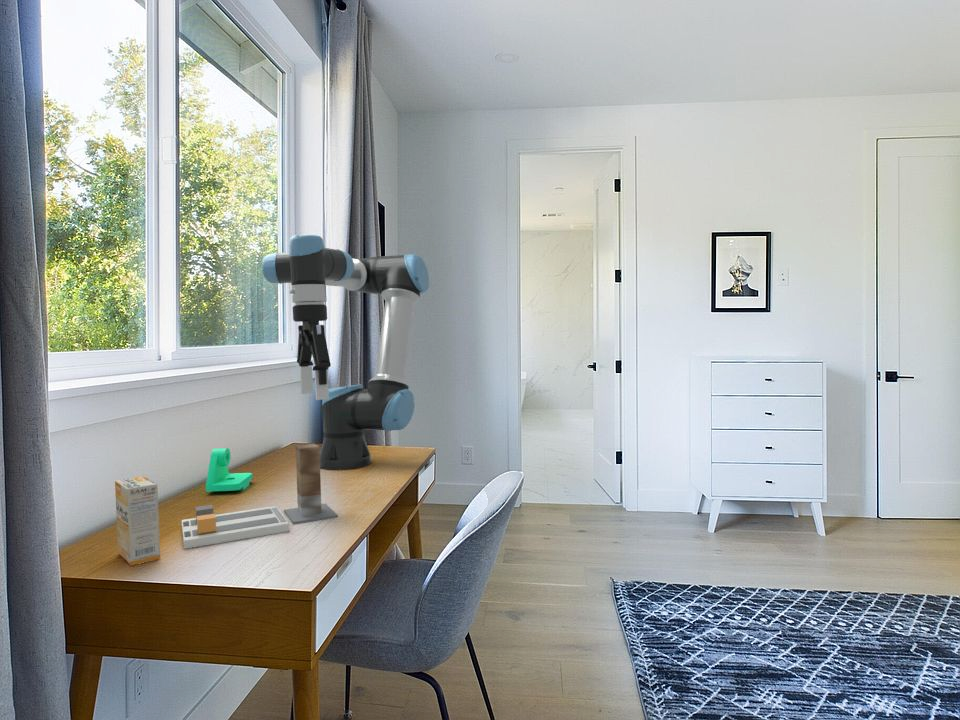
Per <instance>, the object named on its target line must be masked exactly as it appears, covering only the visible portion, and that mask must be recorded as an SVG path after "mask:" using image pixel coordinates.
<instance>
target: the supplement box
mask: <svg viewBox="0 0 960 720" xmlns="http://www.w3.org/2000/svg"><path fill="white" fill-rule="evenodd" d="M114 490H115V491H114V492H115V512H116V513H115V514H116V536H117V537H116V538H117V554H118V555H119V556H120V557H122V558H123V560H125V561H126V562H127V563H128V564H129V565H130V566H131V567H133V566H132V565H134V566H136V565H135V564H138V565H140V564H139V563H142V564H144V563H143V562H146V563H148V561H150V562H153V561H157V560H160V559H161V545H160V544H161V543H160V542H161V541H160V519H159V517H160V516H159V493H158V492H159V491H158V484H157V483H156V482H155V481H152V480H150V479H148V478H146V477H145V476H144V475H142V476H137V477H129V478H122V479H119V480H118V479H117V480H115V481H114ZM156 559H157V560H156ZM152 560H153V561H152Z"/></svg>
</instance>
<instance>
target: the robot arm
mask: <svg viewBox="0 0 960 720" xmlns="http://www.w3.org/2000/svg"><path fill="white" fill-rule="evenodd" d="M288 242H289V245H288V248H289V249H288V252H275V253H269V254H266V255H265V256H264V257H263V259H262V262H261V272H262V276H263V277H264V278H265V280H266V281H267V282H269V283H271V284H279V285H282V284H291V289H289V294H291V297H292V298H291V299H292V300H291V301H292V303H293V304H295V305H293V306H292V320H293V322H297V323H300V322H302V325H298V327H297V329H298V338H297V356H296V363H297V364H298V365H299V375H300V376H299V377H300V391H301V392H300V394H302V395H305V394H306V395H307V394H314V387H315V400H316V401H320V400H321V401H322V404H321V406H322V428H323V442H322V445H321V447H320V469H323V470H332V471H333V470H336V471H337V470H351V469H359V468H362V467H366V466H369V465H370V464H372V458H371V457H372V456H371V452H370V450H369V447H368V444H367V441H366V438H365V431H371V430H372V431H386V432H393V431H401V430H403V429H404V428H406V427H407V426H408V425H409V424H410V422H411V420H412V418H413V416H414V412H415V411H414V410H415V401H414V400H415V397H414V393H413V392H412V391H411V390H409V387H410V386H409V384H408V383H407V382H406V380H405V377H406V371H407V370H406V369H407V362H408V361H407V360H408V352H409V346H410V345H409V344H410V338H411V330H412V329H411V328H412V322H413V315H414V314H413V312H414V306H415V304H417V303H419V301H420V299H421V293H422V294H424V293H426V292H427V291H428V289H429V285H430V275H429V272H428V268H427V264H426V262H425V260H424V259H423V258H422V257H421V255H419V254H416V253H415V254H409V253H404V254H398V255H397V254H395V255H383V256H380V255H379V256H372V257H365V258H358V259H357V258H353V257H352V255H350V253H348V252H347V251H343V250H342V249H341V250H340V249H339V248H338V249H335V248H329V247H325V244H324V239H323V238H322V236H320V235H318V234H295V235H293V236H292V235H291V237H290V238H289V241H288ZM327 286H329V287H343V288H344V289H346V290H347V291H349V292H350V291H352V292H360V293H366V294H373V295H381V297H382V299H383V300H384V301H385V302H384V309H383V316H382V323H381V329H380V330H381V331H380V336H379V337H380V338H379V342H378V343H379V345H378V350H377V351H378V352H377V356H376V357H377V359H376V365H375V366H376V367H375V373H374V376H373V377H371V379H369V380H368V383H367V389H365V388H364V386H363V384H361V383H360V384H353V385H346V386H339V387H332V388H329V372H328V370H329V368H330V367H331V360H330V356H329V355H330V354H329V350H328V344H327V343H328V342H327V340H326V339H327V338H326V332H325V325H324V324H320V322H325V321H327V320H328V309H327V308H328V307H327V305H326V304H325V303H327V301H328V300H327V299H328V298H327ZM312 359H313V361H312ZM313 371H314V376H313ZM313 377H314V380H313Z"/></svg>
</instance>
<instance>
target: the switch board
mask: <svg viewBox="0 0 960 720" xmlns="http://www.w3.org/2000/svg"><path fill="white" fill-rule="evenodd" d="M215 517H216V531H213V532H207V533H201V534H198V530H197V522H196V517H192V518H187V519H186V518H185V519H181V532H182V541H183V549H184V550H185V549H186V548H187V549H193V548H198V547H197V546H199V547H204V545H205V546H208V545H216V544H217V545H218V544H222V543H227V542H234V541H240V540H244V539H250V538H257V537H262V536H263V537H264V536H268V535H273V534H274V535H275V534H281V533H286V532H289V531H290V523H289V521H288V520H287V519H286V517H285V516H284V514H282V512H281V510H280V509H279V508H278V506H277V505H273V506H267V507H260V508H253V509H252V508H251V509H247V510H240V511H233V512H227V513H226V512H225V513H220V514H215ZM192 547H193V548H192Z"/></svg>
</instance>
